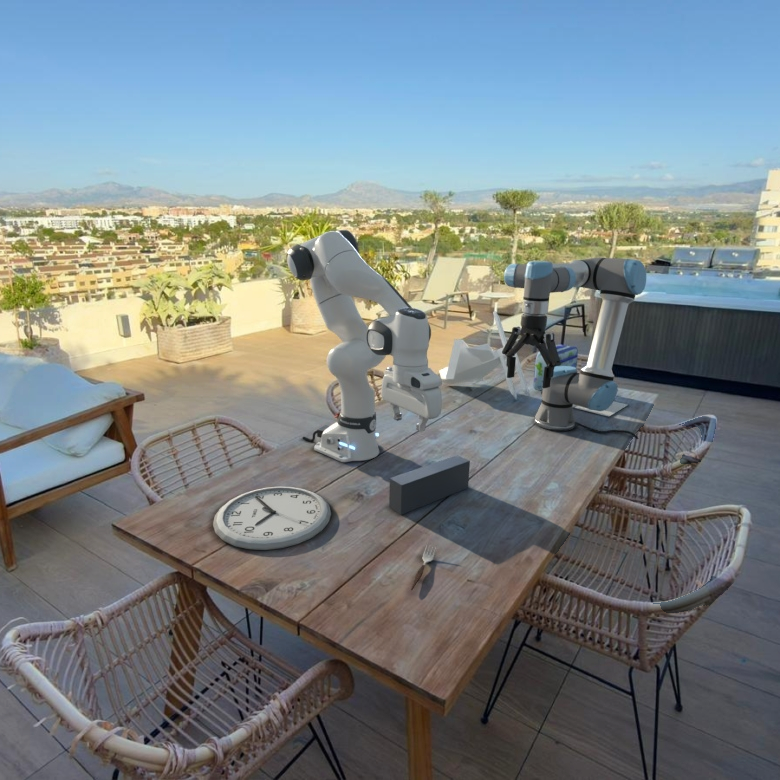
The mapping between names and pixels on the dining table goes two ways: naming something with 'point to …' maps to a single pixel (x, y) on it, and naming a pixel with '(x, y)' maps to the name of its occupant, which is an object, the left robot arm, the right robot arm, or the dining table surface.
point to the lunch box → (566, 358)
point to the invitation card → (609, 411)
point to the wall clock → (272, 518)
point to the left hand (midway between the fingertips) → (408, 425)
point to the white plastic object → (479, 362)
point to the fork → (426, 559)
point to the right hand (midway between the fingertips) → (527, 382)
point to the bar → (428, 484)
